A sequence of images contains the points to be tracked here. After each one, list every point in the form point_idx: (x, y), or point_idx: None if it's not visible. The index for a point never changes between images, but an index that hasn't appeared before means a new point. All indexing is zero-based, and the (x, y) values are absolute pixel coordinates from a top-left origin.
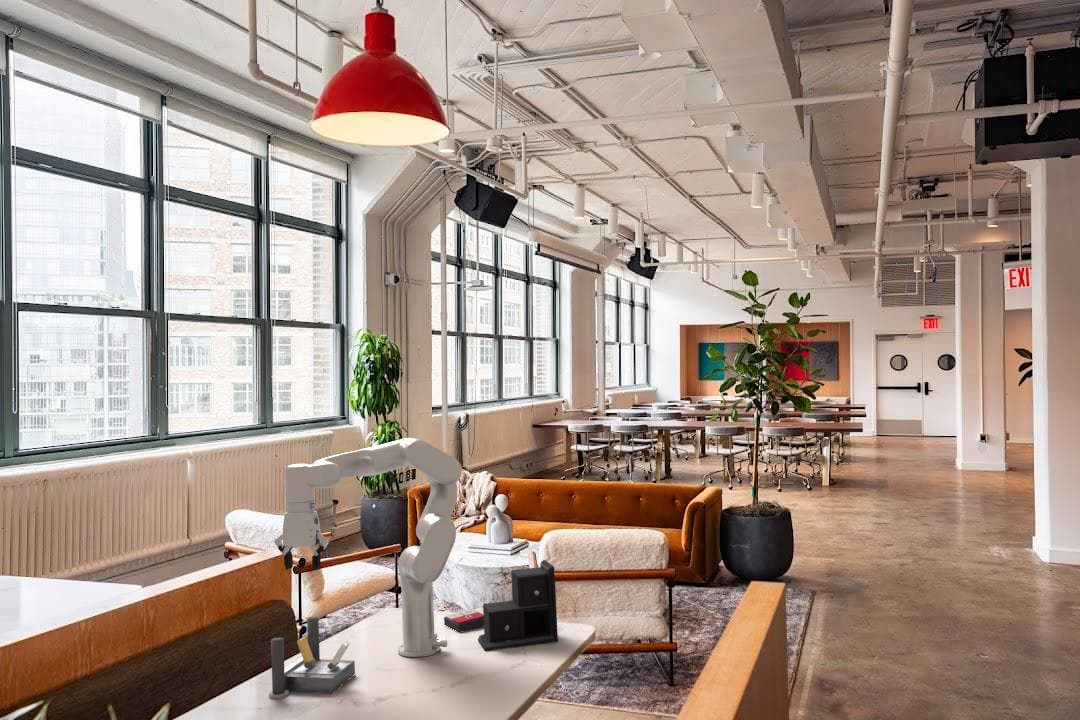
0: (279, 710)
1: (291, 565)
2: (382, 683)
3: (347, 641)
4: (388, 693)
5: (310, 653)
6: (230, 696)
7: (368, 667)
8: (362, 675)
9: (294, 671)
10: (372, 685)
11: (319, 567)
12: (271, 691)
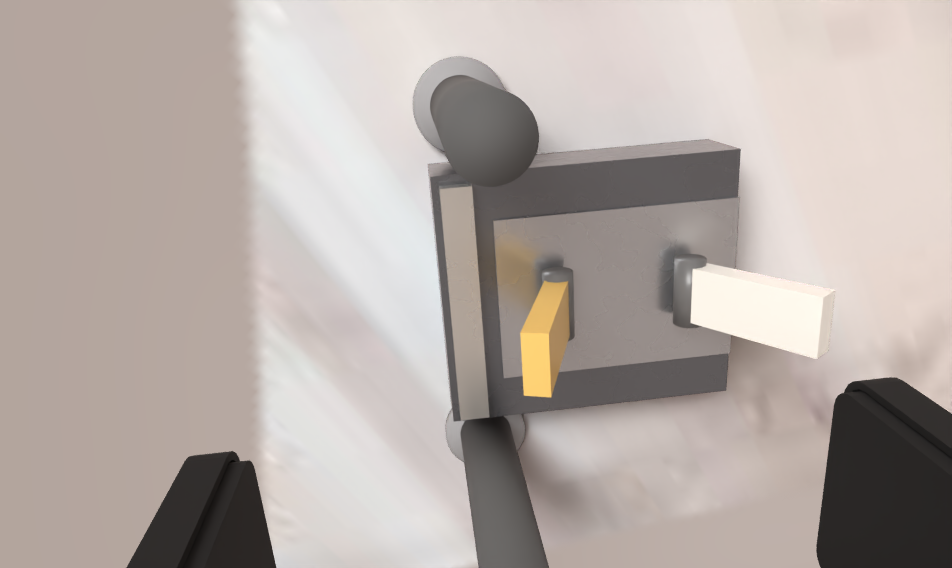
0: (571, 535)
1: (252, 537)
2: (870, 212)
3: (826, 301)
4: (924, 308)
5: (563, 305)
6: (287, 479)
7: (735, 17)
8: (746, 136)
9: (508, 366)
10: (833, 243)
11: (882, 378)
12: (449, 433)
